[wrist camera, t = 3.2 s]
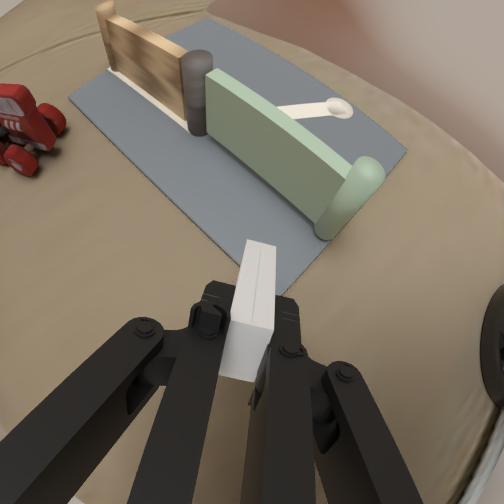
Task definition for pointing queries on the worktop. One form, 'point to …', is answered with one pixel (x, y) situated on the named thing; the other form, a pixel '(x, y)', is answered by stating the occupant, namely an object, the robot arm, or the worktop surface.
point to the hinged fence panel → (288, 155)
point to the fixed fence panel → (157, 66)
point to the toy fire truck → (26, 127)
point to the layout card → (224, 161)
